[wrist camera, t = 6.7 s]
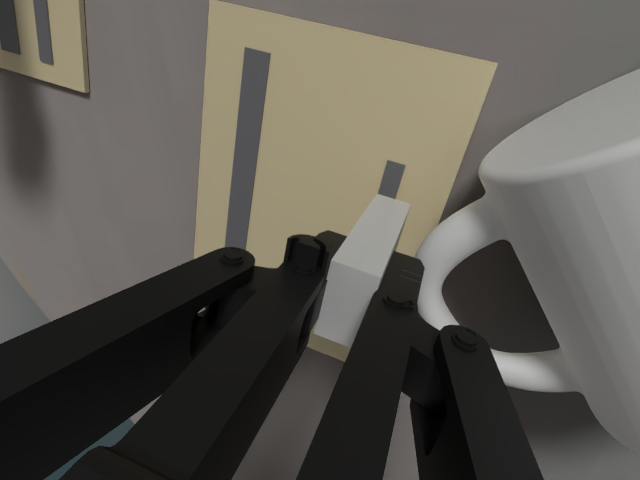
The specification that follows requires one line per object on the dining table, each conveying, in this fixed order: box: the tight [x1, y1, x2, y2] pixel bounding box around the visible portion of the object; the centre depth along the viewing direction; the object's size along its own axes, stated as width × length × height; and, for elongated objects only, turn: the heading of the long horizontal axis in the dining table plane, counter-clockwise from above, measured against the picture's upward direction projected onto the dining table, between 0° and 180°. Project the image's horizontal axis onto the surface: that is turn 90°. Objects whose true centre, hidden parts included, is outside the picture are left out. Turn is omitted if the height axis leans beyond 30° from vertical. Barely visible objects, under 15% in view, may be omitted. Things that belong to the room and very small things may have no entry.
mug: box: [415, 69, 640, 456], centre depth 13 cm, size 12×10×8 cm
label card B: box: [194, 0, 498, 362], centre depth 20 cm, size 16×12×1 cm
